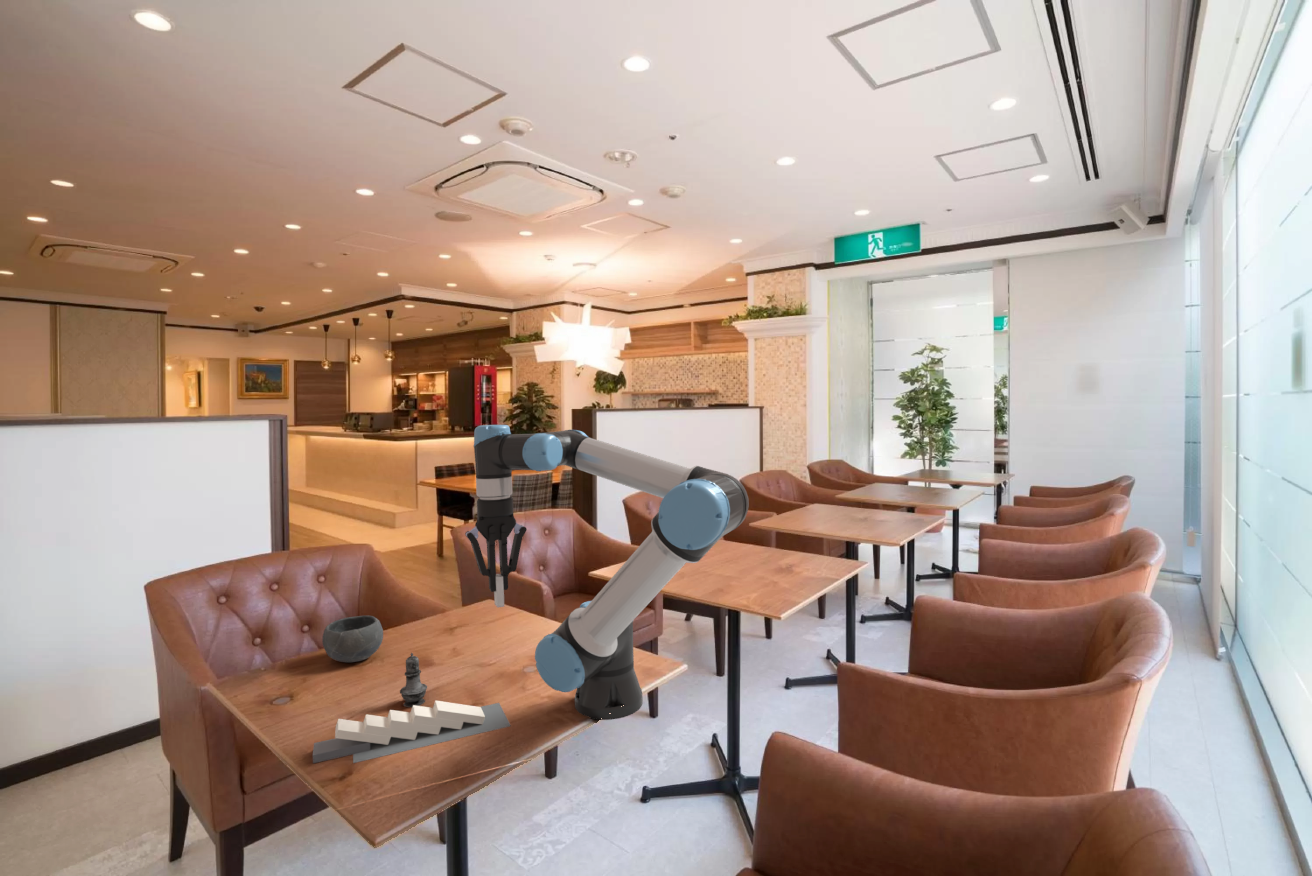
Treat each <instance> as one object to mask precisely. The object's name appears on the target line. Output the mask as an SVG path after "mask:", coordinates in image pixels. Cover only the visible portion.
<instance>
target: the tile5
mask: <svg viewBox="0 0 1312 876" xmlns="http://www.w3.org/2000/svg"><path fill="white" fill-rule="evenodd" d="M363 722H364V721H357V720H351V719H345V718H343V719H342V718H338V720H337V722H336V725H335V729H334V730H335V731H334V732H335V733H334V739H335V738H339V739H347V740H355V741H362V742H370V743H378V744H386V745H388V744H389V741H390V738H391V737H389V736H382V735H374V734H367V733H364V726H363Z"/></svg>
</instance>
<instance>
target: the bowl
mask: <svg viewBox="0 0 1312 876" xmlns="http://www.w3.org/2000/svg"><path fill="white" fill-rule="evenodd" d="M321 640H322V646H323V649H324V651H325V652H326V655H327V656H328V657H329V658H331V660H332V659H333V661H334V660H335V661H337V662H340V663H348V664H349V663H355V662H356V663H357V662H361V661H365V660H366V659H368V658H370V657H371V656H373V655H374V654H375V653H377V652H378V650H379V648H380V646H381V645H382V643H383V640H384V629H383V627H382V624H381V621H380V620H379V619H378V618H377V617H375V616H373V615H356V616H350V617H349V616H348V617H343V618H340V619H337V620H335V621H332V622H330V623H329V624H327V625H326V627H325V628H324V630H323V634H322V639H321Z"/></svg>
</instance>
